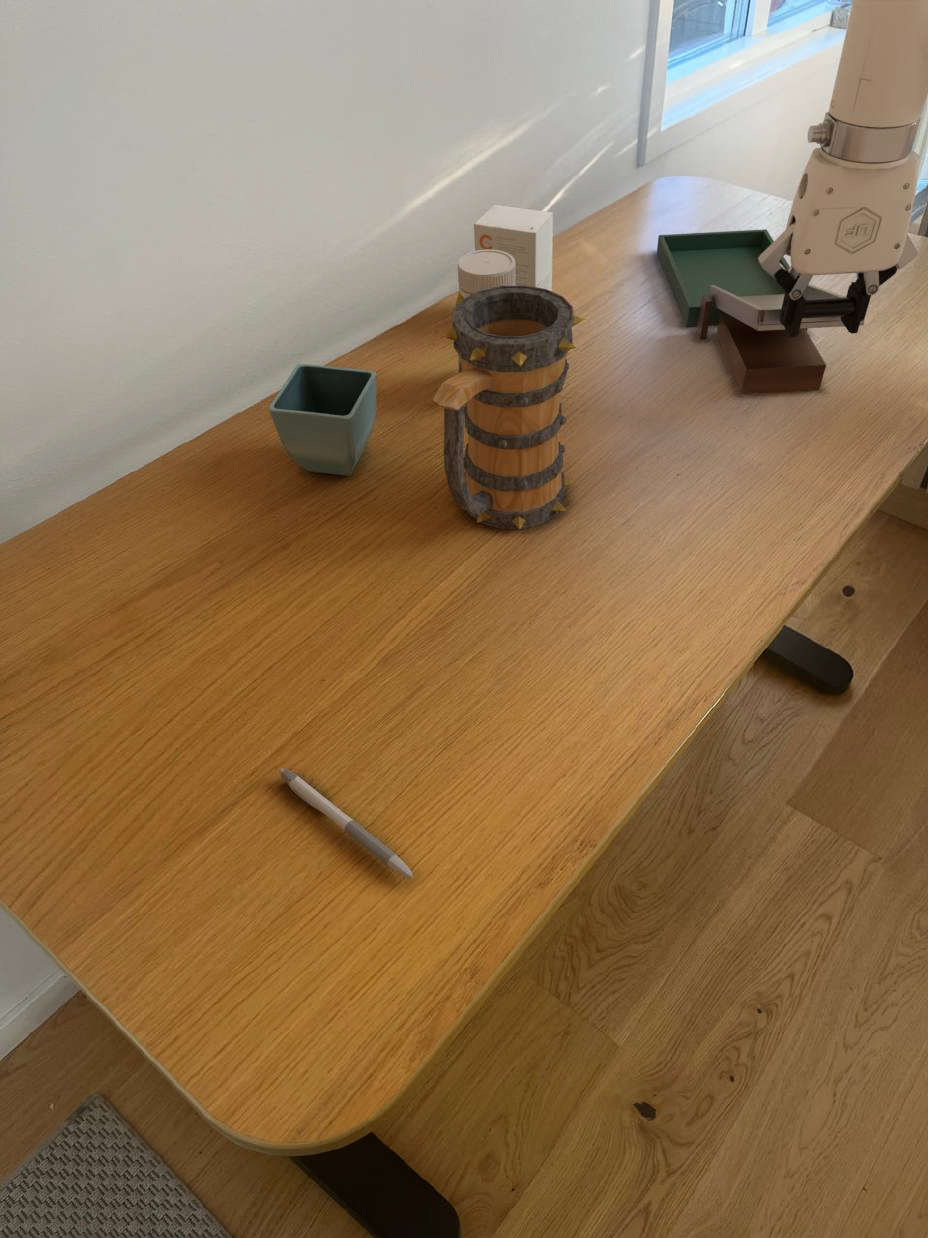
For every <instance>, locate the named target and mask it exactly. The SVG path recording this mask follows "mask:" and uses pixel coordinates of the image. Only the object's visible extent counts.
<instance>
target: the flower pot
mask: <svg viewBox="0 0 928 1238" xmlns="http://www.w3.org/2000/svg"><path fill="white" fill-rule="evenodd" d="M268 411H269V413H270V417H271V419H272V422H273V425H274V427H275V430H276V432H277V435H278V437H279V440H280V442H281V444H282V447H283V448H284V449H285V451H286V453H287V454H288V455H289V457H290V458H291V459H292V460H293V461H294V462H295V463H296V464H297V465H298V466H300V467H301V468H303V469H304V470H305V471H307V472H311V473H321V474H330V475H338V476H345V477H347V476H350V475H352V474H353V472H354V470H355V468H356V466H357V465H358V462H359V460H360V458H361V457H362V454H363V453H364V451H365V449H366V446H367V444H368V442H369V440H370V437H371V435H372V433H373V430H374V429H373V428H374V426H375V420H376V416H377V415H376V413H377V371H374V370H369V369H359V368H357V369H356V368H346V367H337V366H336V367H335V366H326V365H318V364H308V363H298V364H297V365H296V366H294V368H293V370H292V371H291V373H290V375H289V377H288V378H287V379H286V381H285V383H284V384H283V385H282V386H281V388H280V390H279V391H278V392H277V395H276V396H275V398H273V400H272V402H271V403H270V405H268Z"/></svg>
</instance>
